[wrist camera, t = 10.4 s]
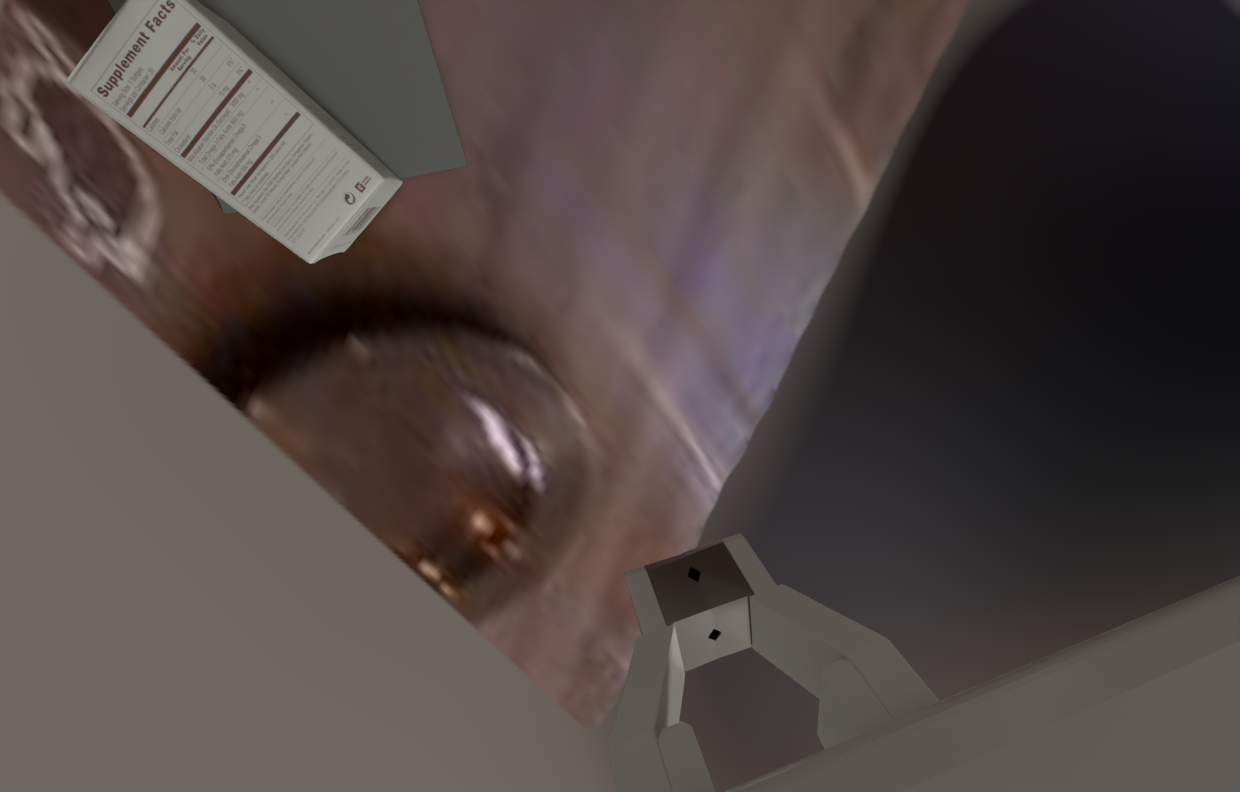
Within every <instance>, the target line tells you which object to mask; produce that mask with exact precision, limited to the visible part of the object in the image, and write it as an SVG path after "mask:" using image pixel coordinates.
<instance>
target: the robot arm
mask: <svg viewBox="0 0 1240 792" xmlns="http://www.w3.org/2000/svg"><path fill="white" fill-rule="evenodd" d="M624 575H625V579H626V582H627V586H628V590H629V593H630V597H631V601H632V604H633V608H634V612H635V615H636V619H637V622H638V626H639V629H640V632H641V635H642V636H639V637H637V641H636V645H635V649H634V652H633V656H632V660H631V663H630V667H629V671H628V675H627V678H626V682H625V686H624V689H623V693H622V697H621V701H620V704H619V708H618V712H617V716H616V719H615V723H614V727H613V730H612V734H611V738H610V742H609V745H608V751H609V756H610V762H611V767H612V773H613V778H614V783H615V788H616V792H715V790H714V787H713V784H712V781H711V779H710V776H709V773H708V771H707V768H706V765H705V762H704V759H703V756H702V754H701V751H700V748H699V745H698V743H697V740H696V737H695V734H694V732H693V729H692V726H691V725H689V724H686V723H684V722H682V721H681V722H679V717H680V709H681V702H682V694H683V686H684V678H685V672H686V671H688V670H691V669H693V668H696V667H698V666H700V665H703V664H705V663H708V662H710V661H713V660H715V659H717V658H720V657H723V656H726V655H729V654H732V653H735V652H738V651H741V650H743V649H746V648H749V647H752V646H753V649H754V650H756V651H757V652H758V653H760V654H761V655H762V656H763V657H765V658H766V659H767V660H769V661H770V662H771V663H773V664H774V665H775V666H777V667H778V668H779V669H781V670H782V671H783V672H785V673H786V674H787V675H788V676H790V677H791V678H792V679H794V680H795V681H796V682H798V683H799V684H800V685H802V686H803V687H804V688H806V689H807V690H808V691H809V692H811V693H812V694H813V695H815V696H816V697H817V698H819V699H820V707H819V720H818V736H819V738H820V740H821V742H822V744H823V745H824V747H825V749H826V750H823V751H821V752H819V753H816V754H814V755H812V756H809V757H807V758H804V759H802V760H799V761H797V762H795V763H792V764H790V765H787V766H785V767H783V768H780V769H778V770H775V771H773V772H771V773H768V774H766V775H764V776H762V777H759V778H756V779H754V780H752V781H749V782H747V783H744V784H742V785H740V786H737V787H735V788H732V789H730V790H728V791H725V792H1240V576H1239V577H1237V578H1234V579H1232V580H1230V581H1227V582H1225V583H1223V584H1220V585H1217V586H1215V587H1213V588H1210V589H1208V590H1206V591H1203V592H1201V593H1198V594H1196V595H1194V596H1191V597H1189V598H1186V599H1184V600H1182V601H1179V602H1177V603H1174V604H1172V605H1170V606H1167V607H1165V608H1163V609H1160V610H1158V611H1156V612H1153V613H1151V614H1149V615H1146V616H1144V617H1141V618H1139V619H1136V620H1134V621H1132V622H1129V623H1127V624H1124V625H1122V626H1120V627H1117V628H1115V629H1112V630H1110V631H1108V632H1105V633H1103V634H1100V635H1098V636H1096V637H1093V638H1091V639H1089V640H1086V641H1084V642H1081V643H1079V644H1077V645H1074V646H1072V647H1069V648H1067V649H1065V650H1062V651H1060V652H1057V653H1055V654H1053V655H1050V656H1048V657H1046V658H1043V659H1041V660H1038V661H1036V662H1034V663H1031V664H1029V665H1026V666H1024V667H1022V668H1019V669H1017V670H1014V671H1012V672H1010V673H1007V674H1005V675H1002V676H1000V677H998V678H995V679H993V680H991V681H988V682H986V683H983V684H981V685H979V686H976V687H974V688H971V689H969V690H967V691H964V692H962V693H960V694H957V695H955V696H952V697H950V698H948V699H945V700H943V701H939V700H938V699H937V697H936V696H935V695H934V694H933V693H932V692H931V690H930V689H929V688H928V687H927V685H926V684H925V683H924V682H923V681H922V679H921V678H920V677H919V676H918V675H917V673H916V672H915V671H914V670H913V669H912V667H911V666H910V665H909V664H908V663H907V661H906V660H905V659H904V658H903V657H902V655H901V654H900V653H899V652H898V651H897V649H896V648H895V647H894V646H893V645H892V643H891V642H890V641H889V640H888V639H887V638H885V637H883V636H881V635H879V634H877V633H875V632H873V631H872V630H870V629H868V628H866V627H864V626H862V625H860V624H858V623H856V622H854V621H852V620H850V619H849V618H847V617H845V616H843V615H841V614H839V613H837V612H835V611H833V610H831V609H829V608H828V607H825V606H824V605H822V604H820V603H818V602H816V601H814V600H812V599H810V598H808V597H806V596H805V595H803V594H801V593H798V592H797V591H795V590H793V589H791V588H789V587H787V586H785V585H780V586H777V585H776V584H775V582H774V581H773V579H772V578H771V576H770V575H769V573H768V572H767V570H766V569H765V567H764V566H763V564H762V563H761V562H760V560H759V559H758V557H757V556H756V554H755V553H754V551H753V550H752V548H751V547H750V545H749V544H748V542H747V541H746V539H745V538H744V537H743V536H742V535H741V534H736V535H733V536H731V537H728V538H725V539H722V540H717V541H715V542H712V543H709V544H706V545H703V546H701V547H698V548H695V549H692V550H690V551H687V552H684V553H682V554H681V555H677V556H674V557H671V558H668V559H665V560H661V561H658V562H655V563H652V564H649V565H645V567H644V566H643V567H640V568H637V569H634V570H630V571H627V572H624Z"/></svg>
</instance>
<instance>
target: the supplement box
mask: <svg viewBox="0 0 1240 792" xmlns="http://www.w3.org/2000/svg"><path fill="white" fill-rule="evenodd" d="M66 84H67V85H68V86H69V87H71V88H72V89H74V90H75V91H76V92H78V93H79V94H80V95H82V96H83V97H85V98H86V99H87V100H89V101H90V102H91V103H93V104H94V105H95V106H97V107H98V108H99V109H101V110H102V111H103V112H105V113H106V114H107V115H109V116H110V117H112V118H113V119H114V120H116V121H117V122H118V123H120V124H121V125H122V126H124V127H125V128H126V129H128V130H129V131H131V132H132V133H133V134H135V135H136V136H137V137H139V138H140V139H141V140H142V141H144V142H145V143H146V144H148V145H149V146H150V147H152V148H153V149H154V150H156V151H157V152H158V153H160V154H161V155H162V156H164V157H165V158H166V159H168V160H169V161H171V162H172V163H173V164H175V165H176V166H177V167H179V168H180V169H181V170H183V171H184V172H185V173H187V174H188V175H189V176H191V177H192V178H193V179H195V180H196V181H197V182H199V183H200V184H202V185H203V186H204V187H206V188H207V189H208V190H210V191H211V192H212V193H214V194H215V195H216V196H218V197H219V198H220V199H222V200H223V201H225V202H226V203H227V204H229V205H230V206H231V207H233V208H234V209H235V210H237V211H238V212H240V213H241V214H242V215H244V216H245V217H246V218H248V219H249V220H250V221H252V222H253V223H254V224H256V225H257V226H258V227H260V228H261V229H263V230H264V231H265V232H267V233H268V234H269V235H271V236H272V237H273V238H275V239H276V240H278V241H279V242H280V243H282V244H283V245H285V246H286V247H287V248H289V249H290V250H291V251H293V252H294V253H295V254H297V255H298V256H299V257H301V258H302V259H303V260H305V261H306V262H308V263H315V262H317V261H318V260H320V259H322V258H325V257H327V256H330V255H332V254H335V253H339V252H345V251H346V250H347V249H348V247H349V246H350V245H351V244H352V243H353V242H354V240H355V239H356V238H357V237H358V236H359V235H360V233H361V232H362V231H363V230H364V229H365V228H366V227H367V225H368V224H369V223H370V222H371V221H372V219H373V218H374V217H375V216H376V215H377V213H378V212H379V211H380V210H381V209H382V208H383V206H384V205H385V204H386V203H387V202H388V200H389V199H390V198H391V197H392V196H393V195H394V193H395V192H396V191H397V190H398V188H399V187H400V186H401V185H402V183H403V182H402V180H401V179H399V178H398V177H397V176H396V175H395V174H394V173H393V172H391V171H390V170H389V169H388V168H387V167H386V166H385V165H384V164H383V163H382V162H380V161H379V160H378V159H377V158H376V157H375V156H374V155H373V154H372V153H371V152H369V151H368V150H367V149H366V148H365V147H364V146H363V145H362V144H361V143H360V142H358V141H357V140H356V139H355V138H354V137H353V136H352V135H351V134H350V133H349V132H348V131H346V130H345V129H344V128H343V127H342V126H341V125H340V124H339V123H338V122H337V121H336V120H334V119H333V118H332V117H331V116H330V115H329V114H328V113H327V112H326V111H325V110H323V109H322V108H321V107H320V106H319V105H318V104H317V103H316V102H315V101H314V100H313V99H311V98H310V97H309V96H308V95H307V94H306V93H305V92H304V91H303V90H302V89H300V88H299V87H298V86H297V85H296V84H295V83H294V82H293V81H292V80H291V79H290V78H288V77H287V76H286V75H285V74H284V73H283V72H282V71H281V70H280V69H279V68H277V67H276V66H275V65H274V64H273V63H272V62H271V61H270V60H269V59H268V58H267V57H265V56H264V55H263V54H262V53H261V52H260V51H259V50H258V49H257V48H256V47H254V46H253V45H252V44H251V43H250V42H249V41H248V40H247V39H246V38H245V37H243V36H242V35H241V34H240V33H239V32H238V31H237V30H236V29H235V28H234V27H233V26H231V25H230V24H229V23H228V22H227V21H225V20H224V19H222V18H221V17H219V16H218V15H216V14H215V13H213V12H212V11H210V10H209V9H207V8H206V7H205V6H203V5H202V4H201V3H200V2H198V1H197V0H126V2H125V3H124V4H123V6H122V7H121V8H120V10H119V11H118V12H117V13H116V15H115V16H114V17H113V18H112V20H111V21H110V22H109V24H108V25H107V26H106V27H105V29H104V30H103V31H102V33H101V34H100V35H99V37H98V38H97V39H96V41H95V42H94V43H93V45H92V46H91V47H90V49H89V50H88V51H87V53H86V54H85V55H84V57H83V58H82V59H81V61H80V62H79V63H78V65H77V66H76V67H75V69H74V70H73V72H72V73H71V75H70V76H69V77H68V79H67V80H66Z"/></svg>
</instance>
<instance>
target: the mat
mask: <svg viewBox="0 0 1240 792" xmlns="http://www.w3.org/2000/svg"><path fill="white" fill-rule="evenodd" d="M197 1H198V2H200V3H201V4H202V5H203V6H205V7H206V8H207V9H209V10H210V11H212V12H213V13H215V14H216V15H218V16H219V17H221V18H222V19H224V20H225V21H227V22H228V23H229V24H230V25H231V26H233V27H234V28H235V29H236V30H237V31H238V32H239V33H240V34H241V35H242V36H243V37H245V38H246V39H247V40H248V41H249V42H250V43H251V44H252V45H253V46H254V47H256V48H257V49H258V50H259V51H260V52H261V53H262V54H263V55H264V56H265V57H267V58H268V59H269V60H270V61H271V62H272V63H273V64H274V65H275V66H276V67H277V68H279V69H280V70H281V71H282V72H283V73H284V74H285V75H286V76H287V77H288V78H290V79H291V80H292V81H293V82H294V83H295V84H296V85H297V86H298V87H299V88H300V89H302V90H303V91H304V92H305V93H306V94H307V95H308V96H309V97H310V98H311V99H313V100H314V101H315V102H316V103H317V104H318V105H319V106H320V107H321V108H322V109H323V110H325V111H326V112H327V113H328V114H329V115H330V116H331V117H332V118H333V119H334V120H336V121H337V122H338V123H339V124H340V125H341V126H342V127H343V128H344V129H345V130H346V131H348V132H349V133H350V134H351V135H352V136H353V137H354V138H355V139H356V140H357V141H358V142H360V143H361V144H362V145H363V146H364V147H365V148H366V149H367V150H368V151H369V152H371V153H372V154H373V155H374V156H375V157H376V158H377V159H378V160H379V161H380V162H382V163H383V164H384V165H385V166H386V167H387V168H388V169H389V170H390V171H391V172H393V173H394V174H395V175H396V176H397V177H398V178H399V179H404V178H409V177H414V176H419V175H424V174H429V173H434V172H439V171H444V170H449V169H454V168H458V167H463V166H468V165H467V161H466V158H465V155H464V152H463V148H462V145H461V142H460V139H459V135H458V132H457V129H456V125H455V122H454V119H453V116H452V112H451V109H450V106H449V103H448V99H447V96H446V93H445V90H444V86H443V83H442V80H441V76H440V73H439V70H438V67H437V63H436V60H435V57H434V54H433V50H432V47H431V44H430V40H429V37H428V34H427V31H426V27H425V24H424V21H423V18H422V14H421V11H420V8H419V4H418V1H417V0H197ZM108 2H109V3H110V5H111V7H112V9H113V11H114V12H115V14H116V13H117V12H118V11H119V10H120V8H121V7H122V6H123V4H124V3H125V2H126V0H108ZM215 196H216V195H215ZM216 198H217V200H218V202H219V203H220V205H221V207H222V209H223V211H224V212H225V214H230V213H235V212H238V211H237V210H235V209H234V208H233V207H231V206H230V205H229V204H227V203H226V202H225V201H223V200H222V199H220V198H219V197H218V196H216Z"/></svg>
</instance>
